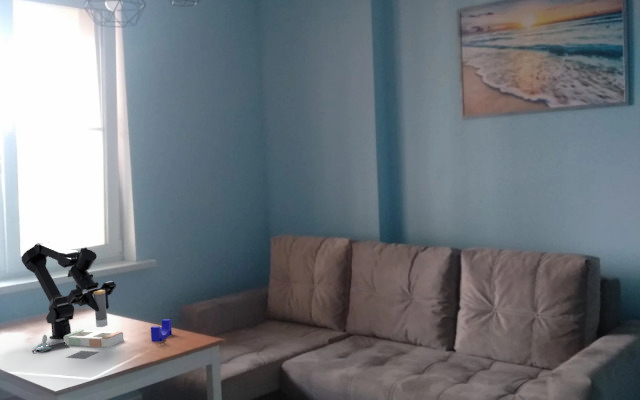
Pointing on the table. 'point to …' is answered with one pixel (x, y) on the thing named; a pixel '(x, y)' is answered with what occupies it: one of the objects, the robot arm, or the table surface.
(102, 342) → the socket panel
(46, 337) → the pacifier
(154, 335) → the cable clip
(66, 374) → the table surface
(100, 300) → the plug
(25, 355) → the table surface
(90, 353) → the mat
